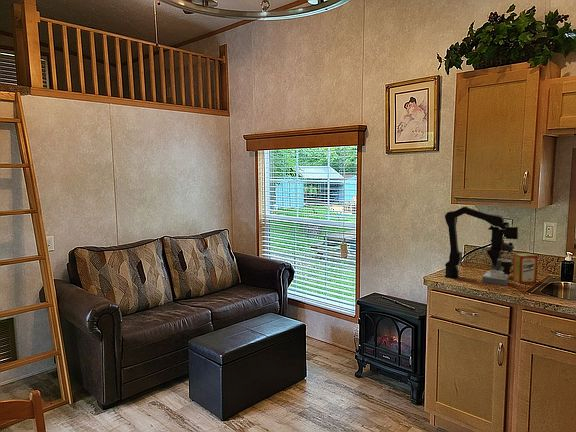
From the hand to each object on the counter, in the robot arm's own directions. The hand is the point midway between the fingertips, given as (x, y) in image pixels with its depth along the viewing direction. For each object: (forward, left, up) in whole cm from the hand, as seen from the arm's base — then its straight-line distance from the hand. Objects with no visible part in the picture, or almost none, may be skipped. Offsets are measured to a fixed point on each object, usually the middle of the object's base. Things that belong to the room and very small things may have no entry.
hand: (495, 265), depth 234 cm
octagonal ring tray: (0, 0, -10) cm, 10 cm away
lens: (0, 0, -2) cm, 2 cm away
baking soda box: (+13, +11, -10) cm, 20 cm away
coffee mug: (+2, +16, -10) cm, 19 cm away
